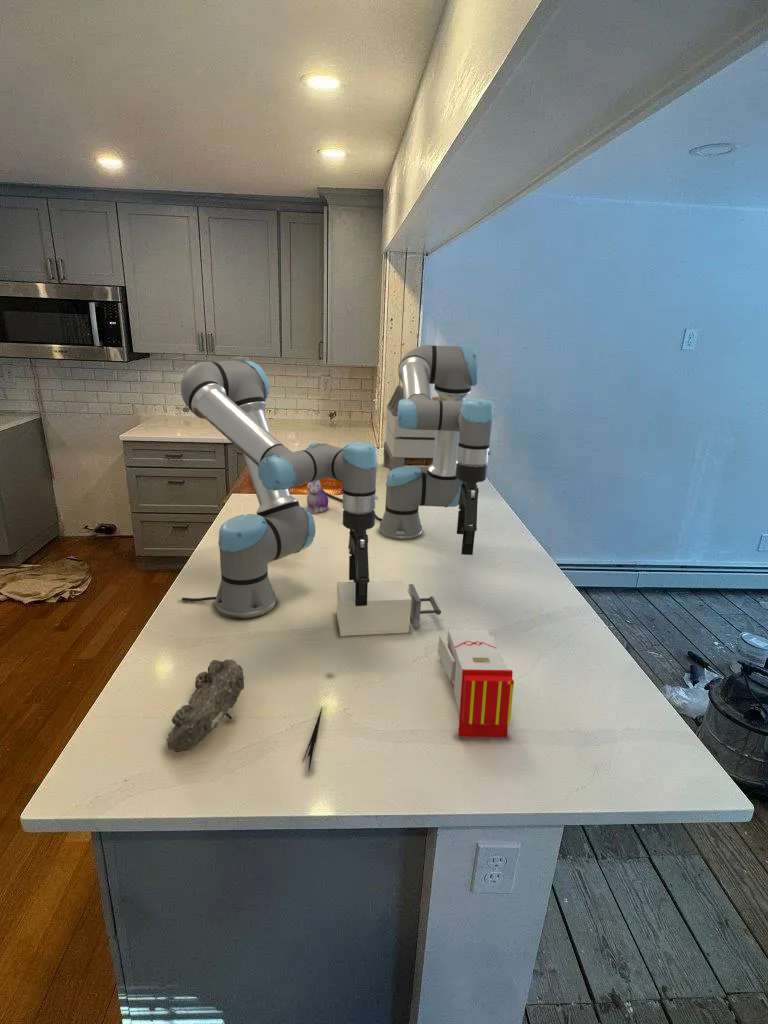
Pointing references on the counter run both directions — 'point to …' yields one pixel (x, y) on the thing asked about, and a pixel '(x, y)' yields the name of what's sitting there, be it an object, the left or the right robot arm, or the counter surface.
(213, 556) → the counter surface
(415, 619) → the drawer
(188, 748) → the fossil
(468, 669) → the toy
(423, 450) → the transformer
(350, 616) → the cabinet
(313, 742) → the feather
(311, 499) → the figurine
